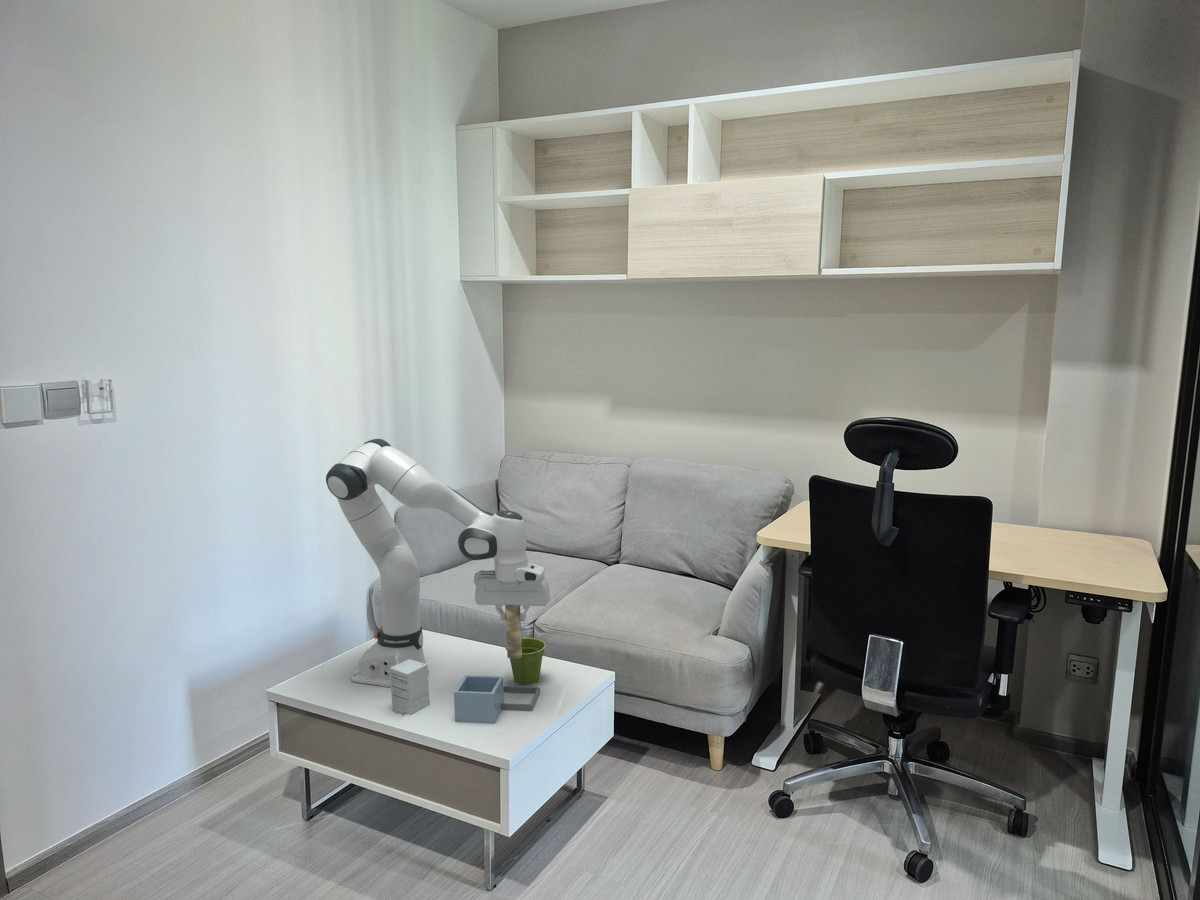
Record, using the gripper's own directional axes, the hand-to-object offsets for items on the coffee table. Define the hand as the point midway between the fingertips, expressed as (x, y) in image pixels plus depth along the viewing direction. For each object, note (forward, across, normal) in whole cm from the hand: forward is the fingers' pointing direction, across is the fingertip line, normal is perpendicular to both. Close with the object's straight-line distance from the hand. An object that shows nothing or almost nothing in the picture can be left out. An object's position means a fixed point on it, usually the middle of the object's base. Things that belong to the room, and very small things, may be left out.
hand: (513, 620), depth 227 cm
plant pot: (+24, 0, +14) cm, 28 cm away
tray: (+24, 0, 0) cm, 24 cm away
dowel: (+10, 0, 0) cm, 10 cm away
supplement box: (+24, -28, -6) cm, 38 cm away
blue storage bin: (+24, -8, -8) cm, 27 cm away
